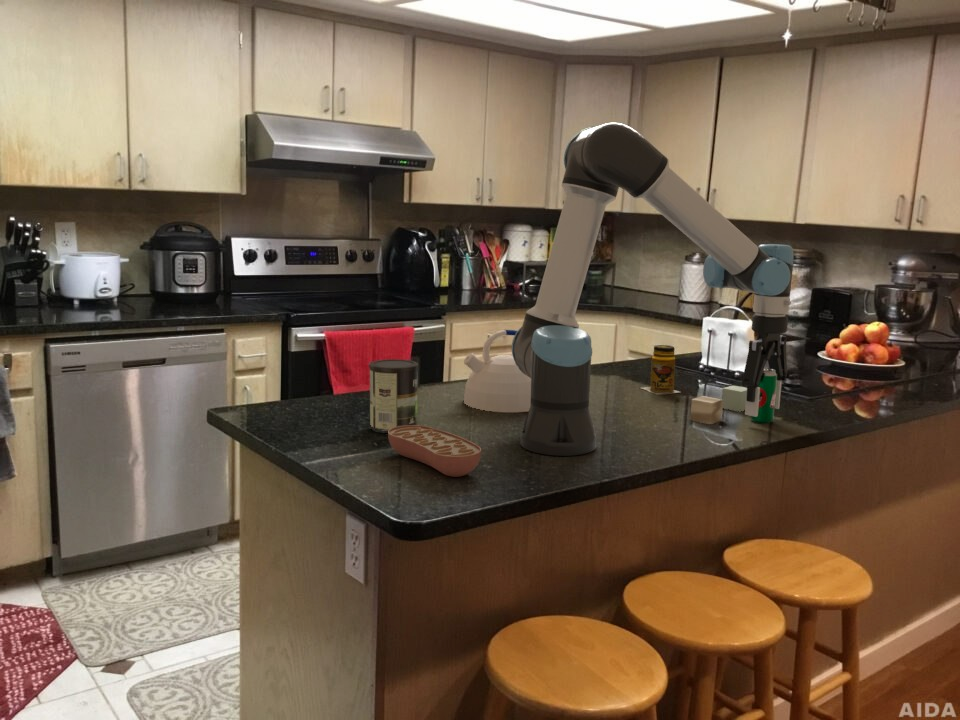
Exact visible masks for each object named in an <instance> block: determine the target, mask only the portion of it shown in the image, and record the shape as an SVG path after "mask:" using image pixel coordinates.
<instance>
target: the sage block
mask: <svg viewBox="0 0 960 720" xmlns="http://www.w3.org/2000/svg"><path fill="white" fill-rule="evenodd" d="M721 392H722V393H721V399H722V400H723V405H722V409H723V408H724V410H728V409H729V410H728V411H733V410H734V411H733V412H738V411H739V412H738V413H741V411H742V412H745V411H744V410H745V406H746V393H747V387H745V386H738V385H730V386H726V387H722V389H721Z"/></svg>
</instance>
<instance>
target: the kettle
mask: <svg viewBox="0 0 960 720" xmlns="http://www.w3.org/2000/svg"><path fill="white" fill-rule="evenodd" d="M517 331H518V330H514V329H502V330H497V331H495V332H494V333H492V334H491V335H489V337H488V338H487V339H486V341H485V342H484V344H483V347H482V353H481V354H482V355H481V357H482V359H480V358H479V357H478V356H476V355H475V354H474V352H471V353H468V354H467V355H466V356H465V358H464V360H463V364H464V365H466V366H467V367H468V368H469V369H470V370H471V372H470V374H469V376H468V379H467V381H466V382H465V386H464V393H463V394H464V395H463V400H464V402H463V403H464V405H465V404H466V405H465V406H467V405H468V406H467V407H469V406H470V407H469V408H471V407H472V408H471V409H474V408H476V409H475V410H477V409H480V410H479V411H483V410H485V411H484V412H489V411H492V413H504V414H505V413H506V414H507V413H508V414H511V413H514V414H515V413H528V412H529V409H530V401H531V378H530V377H528V376H527V375H525V374H524V373H523V372H522V371H521V370H520V369H519V367H518V366H517V365H516V363H515V361H514V358H513V355H512V354H501V355H498V354H497V355H495V356H492V357H491V352H490V351H491V346H492V344H494V341H495V340H497V339H498V338H500V337H503V336H513V337H514V336H515V334H516V332H517Z"/></svg>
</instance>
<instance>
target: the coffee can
mask: <svg viewBox="0 0 960 720" xmlns="http://www.w3.org/2000/svg"><path fill="white" fill-rule="evenodd" d="M368 368H369V403H370V404H369V419H370V421H369V423H370V424H369V425H371V427H373V428H375V429H378V430H382V431H388V430H389V429H391V428H393V427H398V426H405V425H418V373H419V372H418V370H419V369H418V368H419V363H418V362H417V361H414V360H411V359H403V358H402V359H397V358H393V359H392V358H390V359H387V358H386V359H380V360H373V361H370V362H369V363H368Z"/></svg>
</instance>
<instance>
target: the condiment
mask: <svg viewBox="0 0 960 720" xmlns="http://www.w3.org/2000/svg"><path fill="white" fill-rule="evenodd" d="M650 368H651V369H650V381H649V382H650V385H649V386H647V387H641V389H642V390H645V391H647V392H649V393H652V394H655V395H671V394H677V393H680V391H679V390H675V373H676V357H675V347H674V346H672V345H668V344H667V345H666V344H658V345H655V346H653V355H652V357H651V365H650ZM650 389H651V390H650Z"/></svg>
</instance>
